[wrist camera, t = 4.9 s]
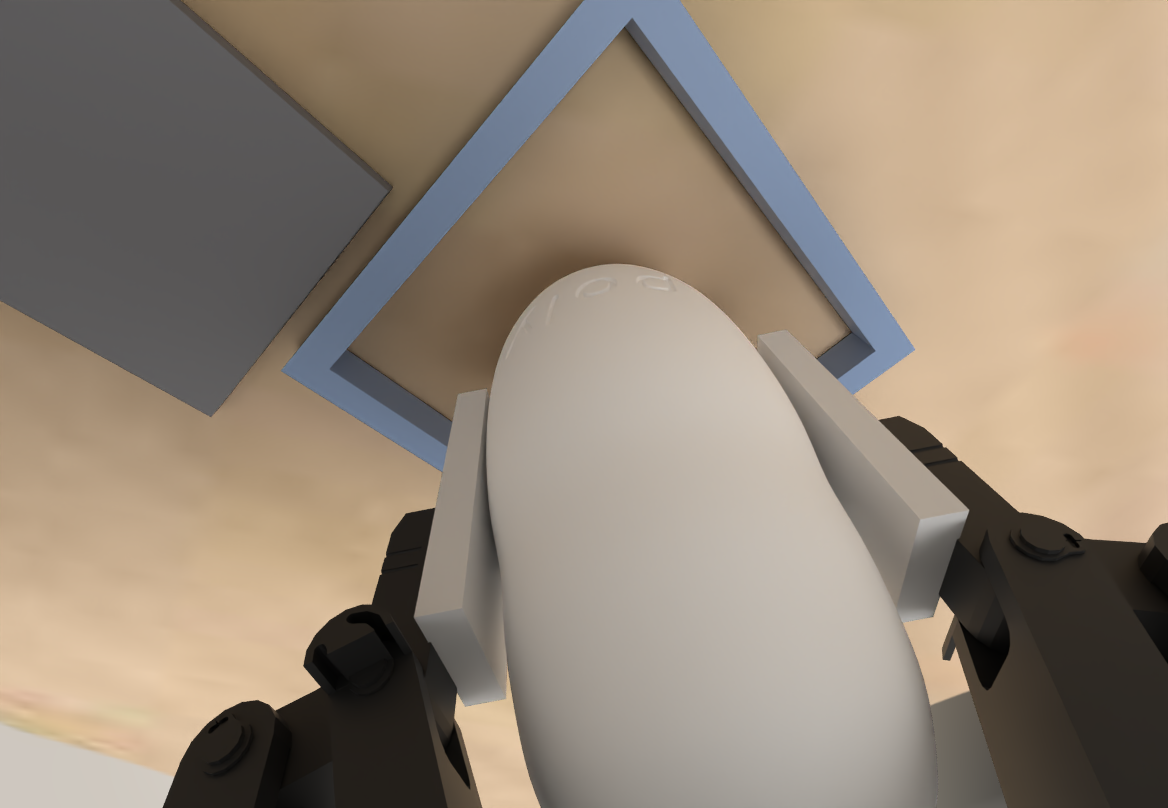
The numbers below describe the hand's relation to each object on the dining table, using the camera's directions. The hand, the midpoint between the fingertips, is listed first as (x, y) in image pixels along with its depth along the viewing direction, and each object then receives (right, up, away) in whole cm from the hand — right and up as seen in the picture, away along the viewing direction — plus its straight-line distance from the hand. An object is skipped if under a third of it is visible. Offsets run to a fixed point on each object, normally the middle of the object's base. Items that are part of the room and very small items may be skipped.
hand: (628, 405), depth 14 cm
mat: (-14, +6, 0) cm, 15 cm away
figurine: (0, +1, +1) cm, 2 cm away
